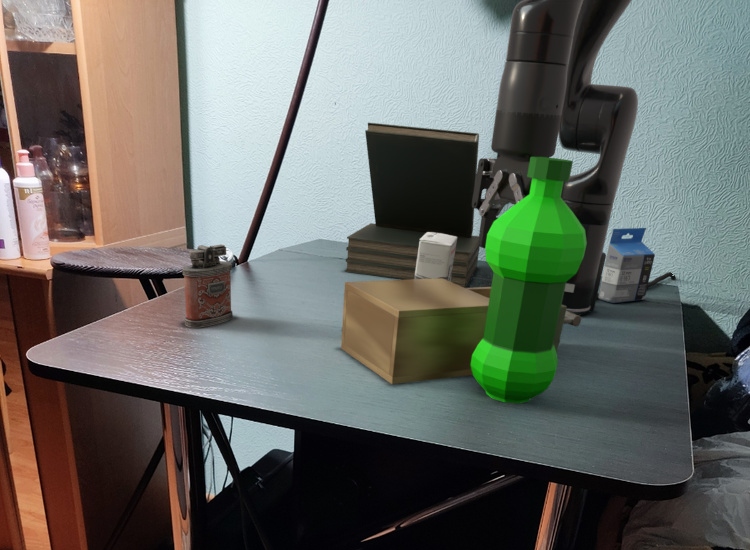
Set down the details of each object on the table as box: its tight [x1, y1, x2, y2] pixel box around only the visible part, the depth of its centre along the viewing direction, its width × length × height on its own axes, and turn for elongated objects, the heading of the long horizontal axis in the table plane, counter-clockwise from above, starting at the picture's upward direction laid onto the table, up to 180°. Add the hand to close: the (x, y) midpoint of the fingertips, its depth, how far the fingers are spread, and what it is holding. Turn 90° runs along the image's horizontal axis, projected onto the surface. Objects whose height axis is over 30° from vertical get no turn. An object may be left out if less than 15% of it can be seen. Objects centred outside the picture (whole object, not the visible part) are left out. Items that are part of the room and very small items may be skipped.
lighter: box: [182, 244, 233, 329], centre depth 98 cm, size 8×3×10 cm, turn 148°
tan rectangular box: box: [340, 278, 489, 385], centre depth 90 cm, size 15×14×9 cm
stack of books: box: [344, 122, 481, 288], centre depth 135 cm, size 23×20×25 cm
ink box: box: [414, 232, 457, 281], centre depth 108 cm, size 9×5×12 cm, turn 168°
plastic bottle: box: [471, 157, 587, 405], centre depth 78 cm, size 10×10×25 cm
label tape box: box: [597, 227, 656, 304], centre depth 130 cm, size 9×4×12 cm, turn 123°
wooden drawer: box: [466, 286, 582, 355], centre depth 96 cm, size 19×12×7 cm, turn 118°
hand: (506, 254), depth 91 cm, fingers open, 8 cm apart
